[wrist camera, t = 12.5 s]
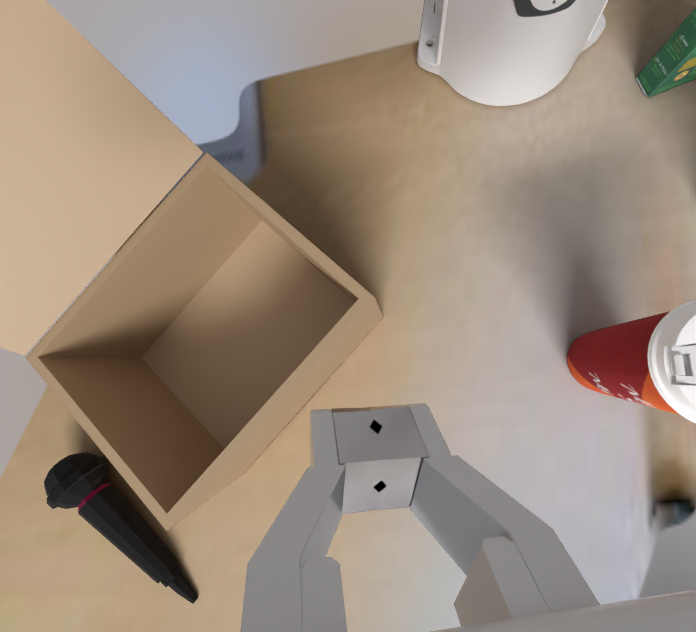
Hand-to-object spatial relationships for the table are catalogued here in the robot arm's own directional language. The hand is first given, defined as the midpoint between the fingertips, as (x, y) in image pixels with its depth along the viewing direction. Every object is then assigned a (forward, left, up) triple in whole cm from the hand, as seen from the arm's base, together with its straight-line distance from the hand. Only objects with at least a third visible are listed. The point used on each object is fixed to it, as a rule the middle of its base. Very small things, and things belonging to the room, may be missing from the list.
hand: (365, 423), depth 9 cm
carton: (-5, -15, -27) cm, 31 cm away
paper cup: (-1, +19, -27) cm, 33 cm away
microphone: (+15, -29, -27) cm, 42 cm away
